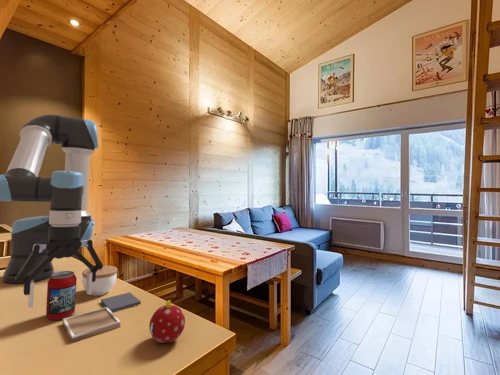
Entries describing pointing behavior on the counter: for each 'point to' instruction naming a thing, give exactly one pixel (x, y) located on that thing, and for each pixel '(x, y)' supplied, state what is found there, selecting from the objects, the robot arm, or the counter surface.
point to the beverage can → (61, 295)
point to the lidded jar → (101, 280)
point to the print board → (90, 324)
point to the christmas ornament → (167, 323)
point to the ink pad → (120, 302)
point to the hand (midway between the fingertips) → (61, 299)
